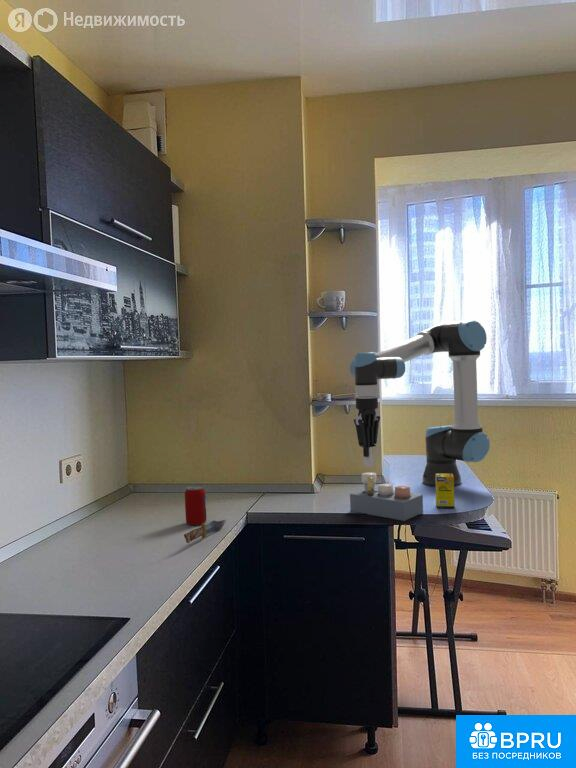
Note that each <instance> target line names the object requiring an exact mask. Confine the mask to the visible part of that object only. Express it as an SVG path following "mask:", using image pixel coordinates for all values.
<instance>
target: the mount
mask: <svg viewBox="0 0 576 768" xmlns="http://www.w3.org/2000/svg"><path fill="white" fill-rule="evenodd" d="M374 488H375V493H374V496H368V493H365V488H362V489H360V490H357V491H354V492H351V493H349V502H350V504H349V505H350V512H353V513H358V512H361V513H360V514H364V513H366V514H365V515H369V516H376V517H382V518H386V519H387V518H388V519H393V520H397V521H402V522H405V521H407V520H409V519H410V520H411V519H412V518H414V517H416V516H418V515H421V514H422V513H423V512H424V501H423V499H424V496H423V494H421V493H413V492H410V498H406V499H402V498H396V497H395V489H393V495H390V496H381V495H379V494H378V487H374Z"/></svg>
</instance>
